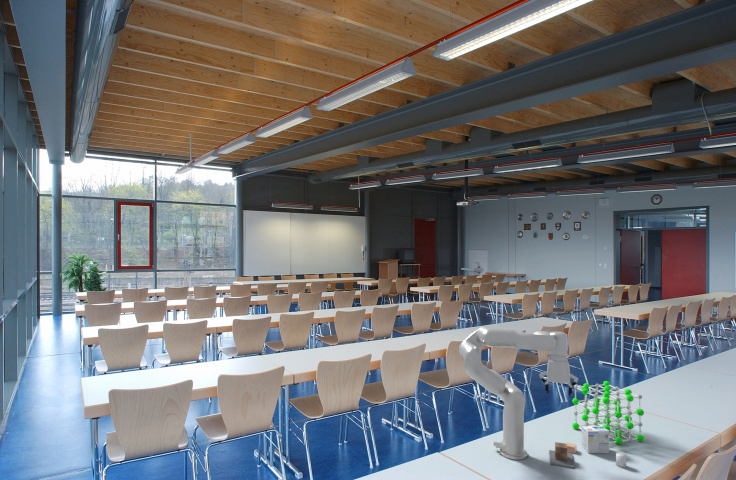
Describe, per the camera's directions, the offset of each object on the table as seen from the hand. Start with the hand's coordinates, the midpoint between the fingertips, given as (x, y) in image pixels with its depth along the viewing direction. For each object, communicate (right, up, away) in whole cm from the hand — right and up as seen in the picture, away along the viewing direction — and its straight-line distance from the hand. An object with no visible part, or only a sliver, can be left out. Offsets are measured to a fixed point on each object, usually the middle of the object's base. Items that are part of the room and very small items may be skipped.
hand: (558, 393), depth 213 cm
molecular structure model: (+34, -29, +20) cm, 49 cm away
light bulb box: (+19, -29, +3) cm, 34 cm away
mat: (-2, -28, -7) cm, 29 cm away
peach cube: (+7, -29, +2) cm, 29 cm away
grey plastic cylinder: (+23, -28, -13) cm, 38 cm away
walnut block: (-2, -27, -7) cm, 28 cm away
